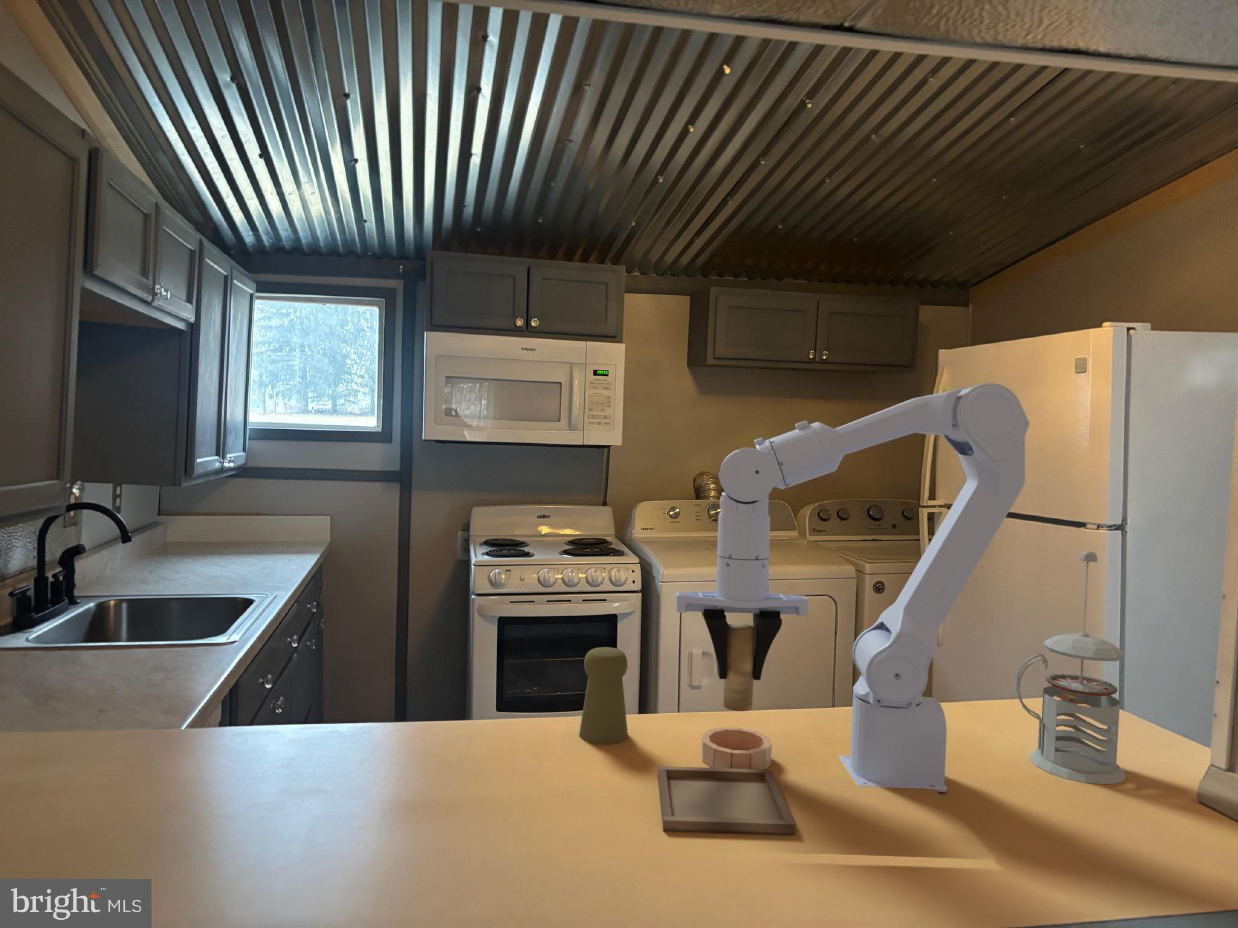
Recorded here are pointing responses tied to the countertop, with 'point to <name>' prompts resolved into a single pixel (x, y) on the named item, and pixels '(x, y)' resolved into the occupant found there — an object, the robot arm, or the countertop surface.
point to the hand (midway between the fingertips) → (738, 676)
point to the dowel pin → (739, 667)
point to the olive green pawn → (604, 697)
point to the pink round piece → (735, 748)
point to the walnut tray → (722, 801)
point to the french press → (1078, 710)
